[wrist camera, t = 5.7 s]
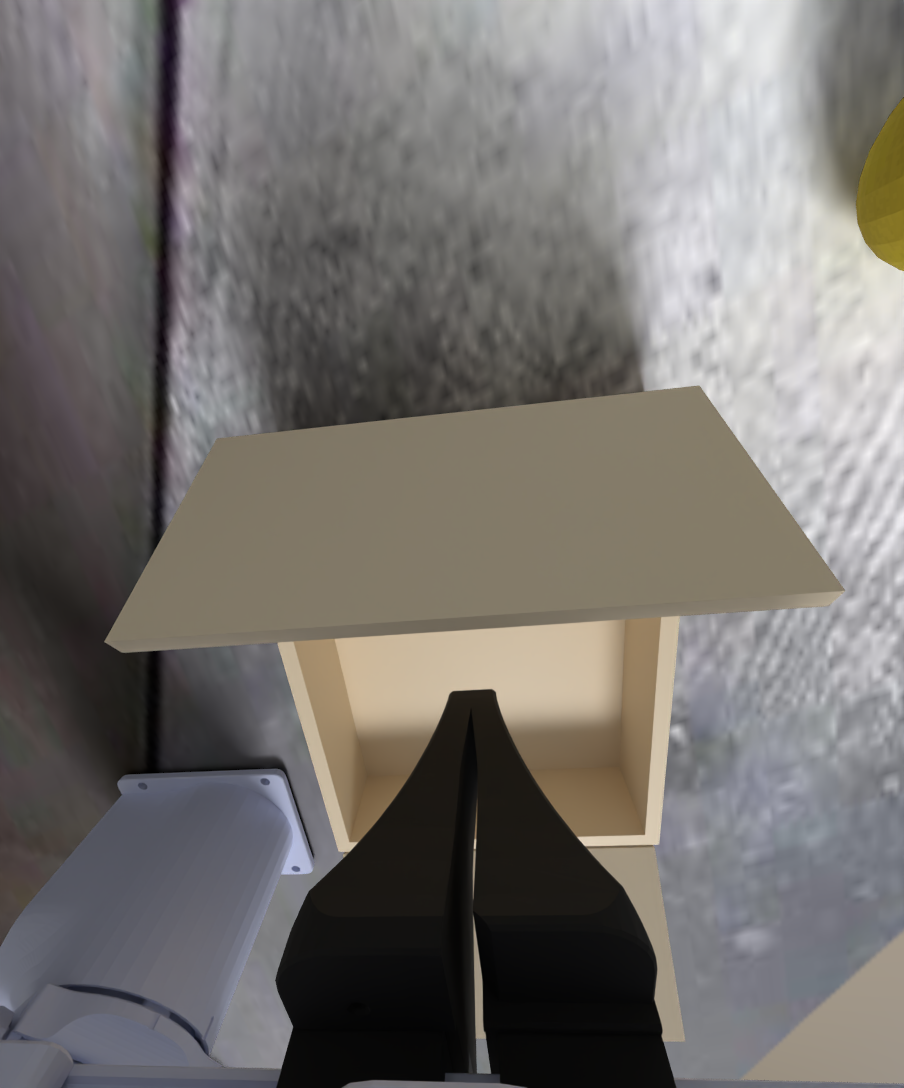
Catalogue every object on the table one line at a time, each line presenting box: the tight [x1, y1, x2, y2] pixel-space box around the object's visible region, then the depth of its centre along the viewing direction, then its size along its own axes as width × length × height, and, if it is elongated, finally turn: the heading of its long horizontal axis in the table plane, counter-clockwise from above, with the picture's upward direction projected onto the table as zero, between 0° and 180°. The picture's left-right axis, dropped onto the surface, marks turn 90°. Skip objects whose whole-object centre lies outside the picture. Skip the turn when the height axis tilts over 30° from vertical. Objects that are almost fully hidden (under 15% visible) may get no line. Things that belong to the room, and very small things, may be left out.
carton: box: [278, 616, 680, 852], centre depth 17 cm, size 14×18×4 cm
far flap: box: [343, 845, 685, 1042], centre depth 18 cm, size 14×6×1 cm
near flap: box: [104, 386, 845, 653], centre depth 10 cm, size 14×6×1 cm
